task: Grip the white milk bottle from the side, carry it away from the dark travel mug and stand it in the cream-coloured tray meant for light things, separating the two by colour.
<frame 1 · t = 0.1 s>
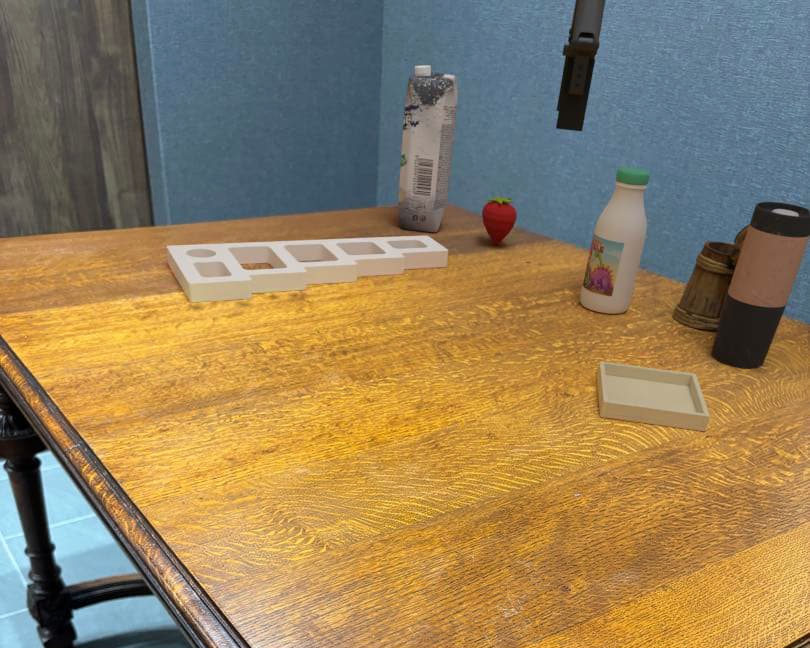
hand: (568, 120, 90), 29 cm above the table, tool pointing down, fingers open, 13 cm apart
holder: (321, 275, 130), on the table
cream tray: (647, 402, 100), on the table
milk bottle: (603, 307, 128), on the table
travel mug: (736, 359, 114), on the table
wooden mug: (709, 327, 124), on the table
juice carton: (420, 226, 158), on the table
strawberry: (494, 246, 151), on the table
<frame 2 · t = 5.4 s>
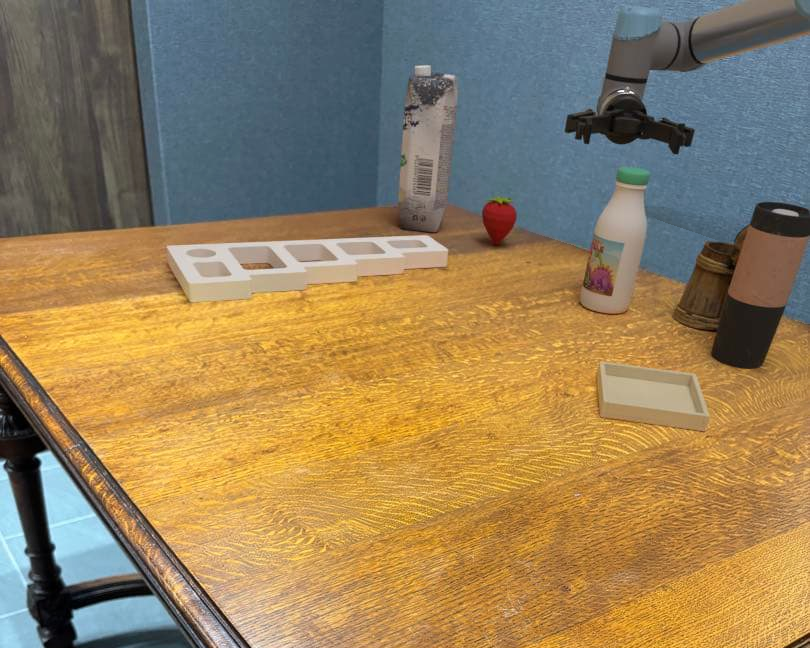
hand: (633, 139, 124), 22 cm above the table, tool horizontal, fingers open, 13 cm apart
nothing on the table moved.
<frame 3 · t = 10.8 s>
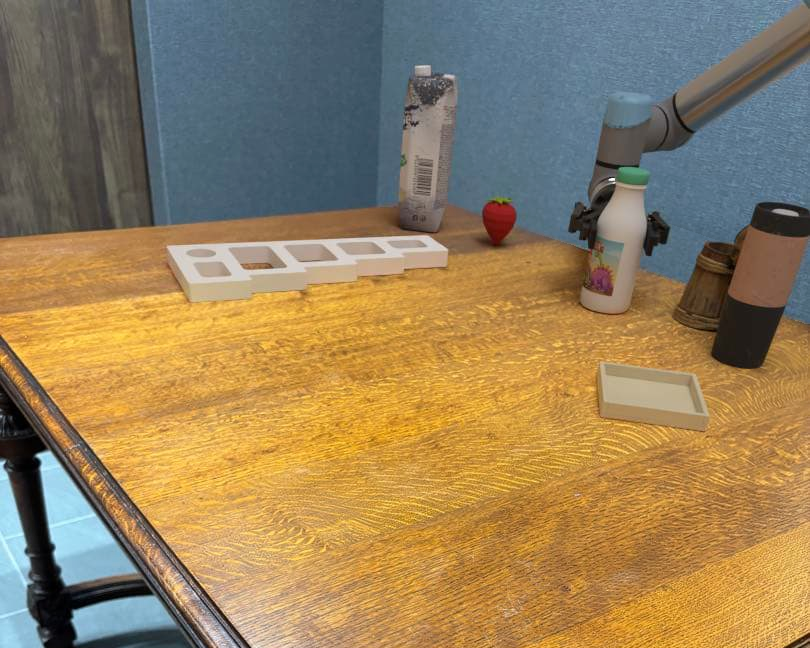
hand: (621, 243, 117), 11 cm above the table, tool horizontal, fingers closed on milk bottle, 8 cm apart
milk bottle: (603, 307, 128), on the table, touching gripper
everything else where it was.
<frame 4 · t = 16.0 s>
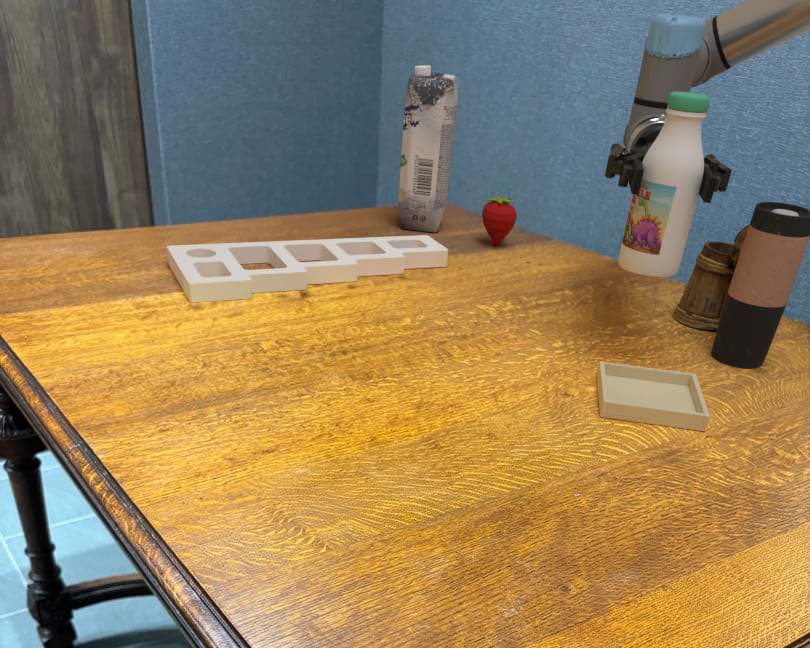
hand: (674, 186, 94), 23 cm above the table, tool horizontal, fingers closed on milk bottle, 8 cm apart
milk bottle: (646, 270, 105), point 12 cm above the table, touching gripper
everything else where it was.
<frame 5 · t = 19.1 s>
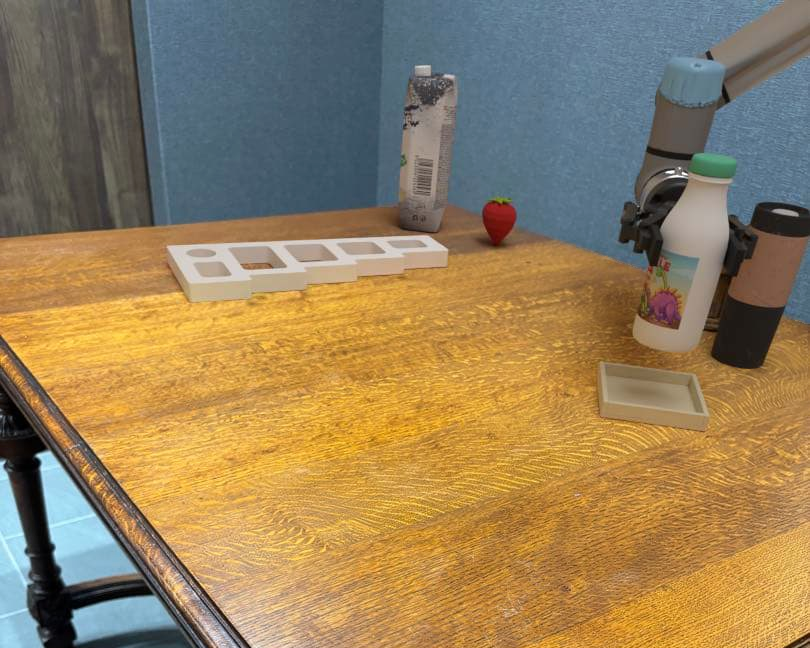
hand: (696, 258, 85), 19 cm above the table, tool horizontal, fingers closed on milk bottle, 8 cm apart
milk bottle: (663, 342, 95), point 8 cm above the table, touching gripper
everything else where it was.
when the fingers open (11 cm above the table, at t = 21.5 s): milk bottle stays where it is, resting on cream tray.
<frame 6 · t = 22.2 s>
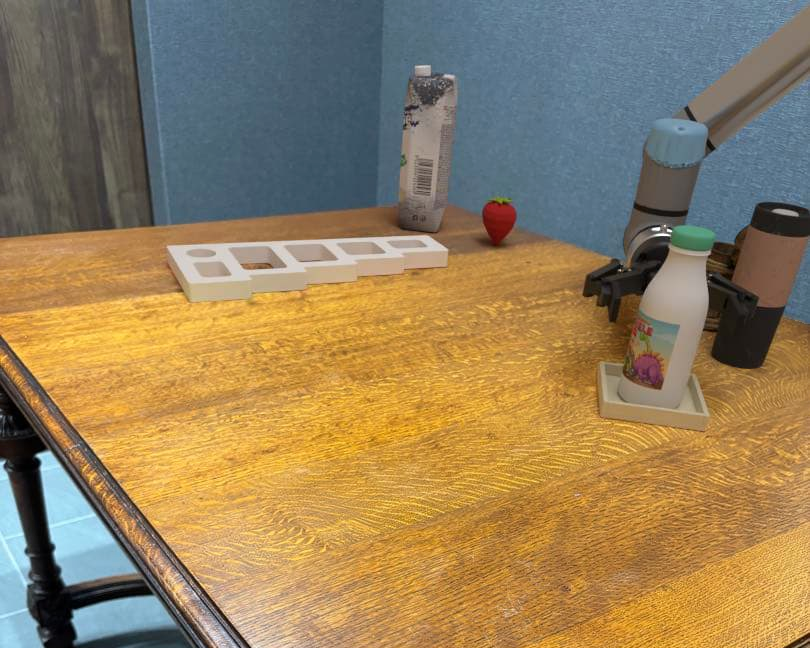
hand: (676, 318, 90), 12 cm above the table, tool horizontal, fingers open, 13 cm apart
milk bottle: (648, 399, 100), resting on cream tray
everything else where it was.
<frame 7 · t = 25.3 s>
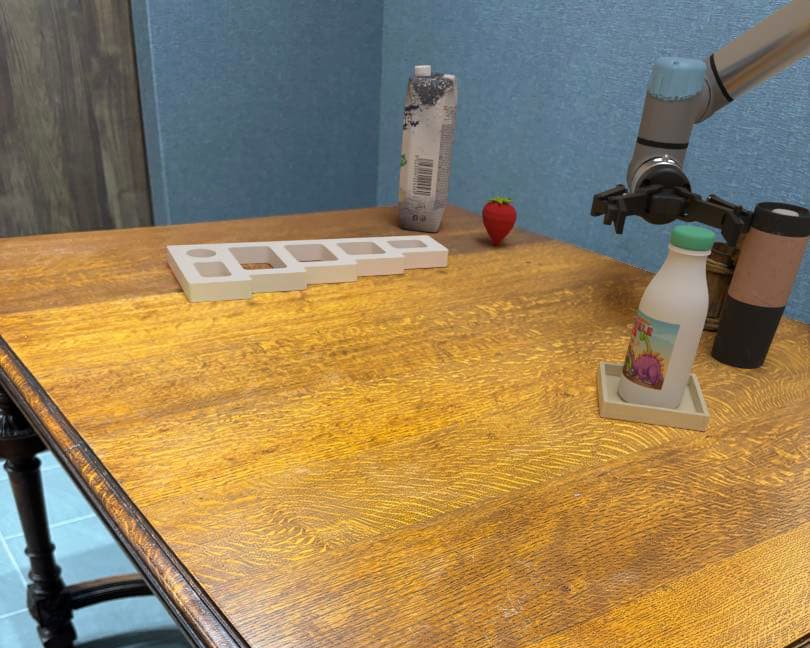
hand: (678, 229, 98), 18 cm above the table, tool horizontal, fingers open, 13 cm apart
nothing on the table moved.
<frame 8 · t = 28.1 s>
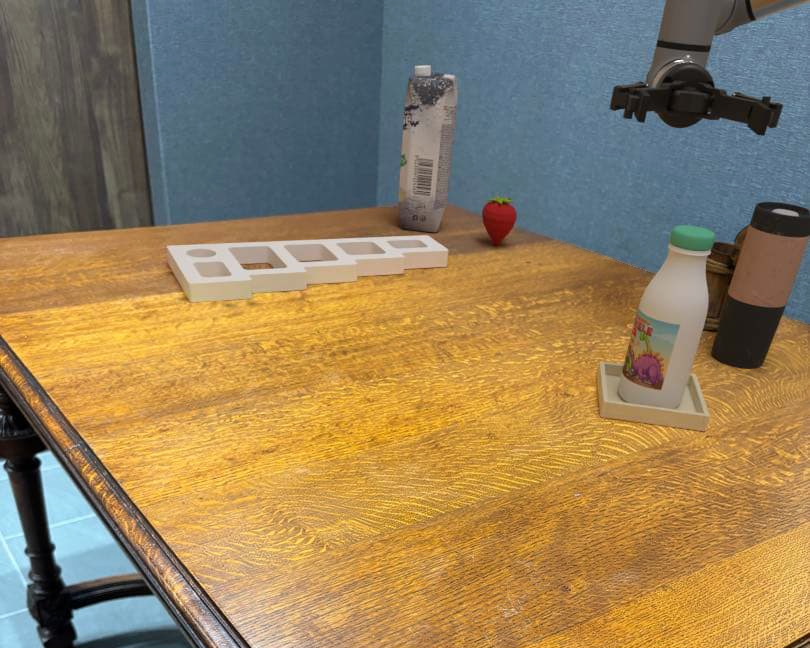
hand: (704, 115, 93), 30 cm above the table, tool horizontal, fingers open, 13 cm apart
nothing on the table moved.
at the end: milk bottle inside the target area in the cream tray (0.1 cm from its centre), point 0.3 cm above the cream tray's base; milk bottle tilted 0°; travel mug moved 0.2 cm from its start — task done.
